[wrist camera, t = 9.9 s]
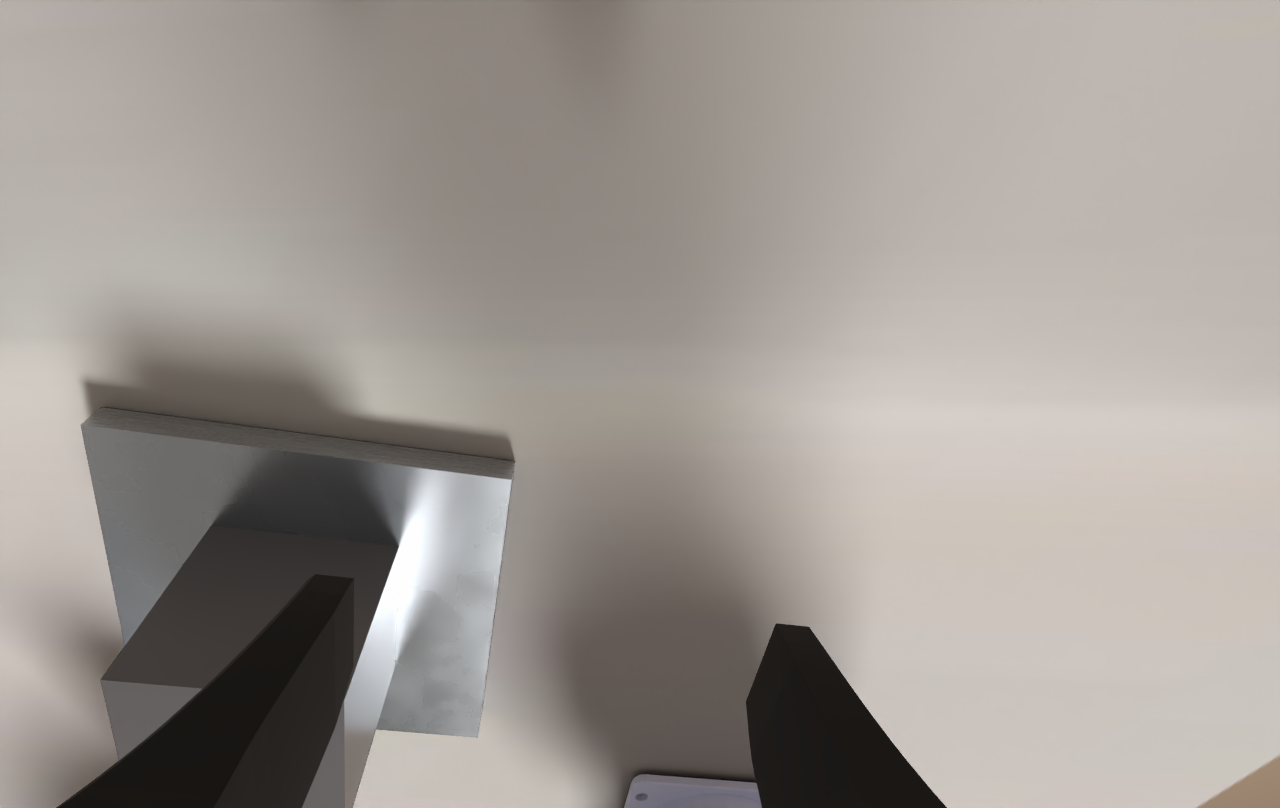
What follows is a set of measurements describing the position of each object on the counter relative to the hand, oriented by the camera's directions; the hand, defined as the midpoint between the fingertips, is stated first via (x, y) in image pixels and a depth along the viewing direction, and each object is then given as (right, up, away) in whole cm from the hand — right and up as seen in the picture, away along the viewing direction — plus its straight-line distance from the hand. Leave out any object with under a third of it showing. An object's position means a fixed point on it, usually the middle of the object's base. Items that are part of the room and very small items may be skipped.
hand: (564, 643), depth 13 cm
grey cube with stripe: (-10, -2, +12) cm, 15 cm away
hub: (-10, -2, +13) cm, 16 cm away
